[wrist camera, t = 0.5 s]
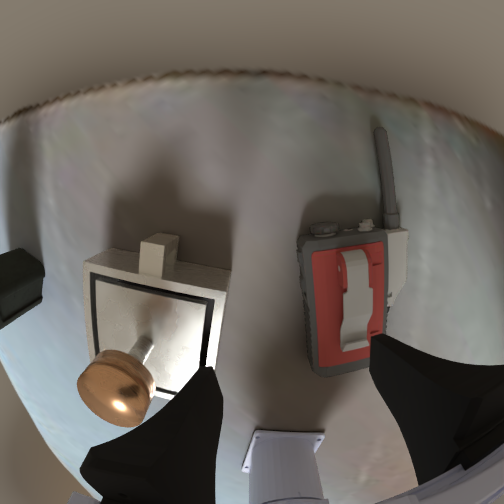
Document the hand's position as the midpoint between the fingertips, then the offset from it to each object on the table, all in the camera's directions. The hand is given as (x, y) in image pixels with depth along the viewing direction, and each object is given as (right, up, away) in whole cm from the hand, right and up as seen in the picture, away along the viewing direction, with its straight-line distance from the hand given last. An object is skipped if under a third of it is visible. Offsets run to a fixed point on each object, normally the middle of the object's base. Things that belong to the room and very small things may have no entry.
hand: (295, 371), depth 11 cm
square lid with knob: (-9, -1, +7) cm, 12 cm away
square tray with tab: (-9, 0, +10) cm, 14 cm away
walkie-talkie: (+6, +5, +10) cm, 12 cm away
